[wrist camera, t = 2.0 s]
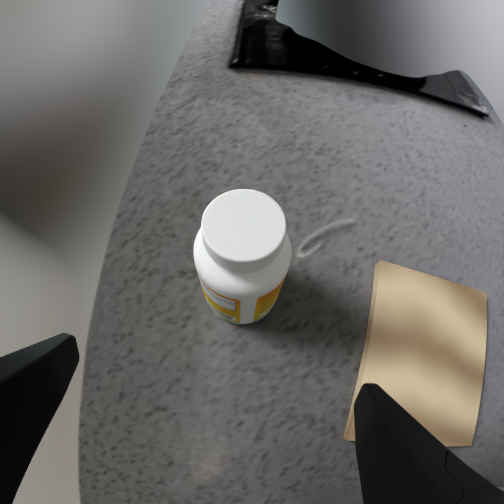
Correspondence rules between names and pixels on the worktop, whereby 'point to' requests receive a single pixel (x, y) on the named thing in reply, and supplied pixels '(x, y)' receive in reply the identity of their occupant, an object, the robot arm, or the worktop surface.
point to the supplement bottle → (242, 255)
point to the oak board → (426, 350)
